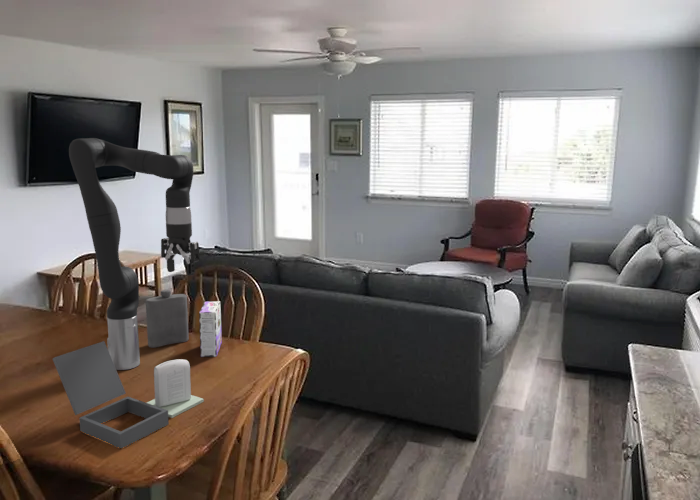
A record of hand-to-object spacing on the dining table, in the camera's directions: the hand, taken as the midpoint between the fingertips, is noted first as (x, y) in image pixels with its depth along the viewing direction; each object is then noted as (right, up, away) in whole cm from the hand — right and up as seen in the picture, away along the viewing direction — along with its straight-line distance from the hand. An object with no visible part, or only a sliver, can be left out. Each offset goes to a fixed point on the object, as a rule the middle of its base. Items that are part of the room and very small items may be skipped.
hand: (180, 273), depth 180 cm
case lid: (-18, -27, -23) cm, 39 cm away
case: (-7, -40, -27) cm, 48 cm away
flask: (-15, -28, +37) cm, 49 cm away
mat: (+2, -37, -13) cm, 39 cm away
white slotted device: (+2, -37, -13) cm, 39 cm away
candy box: (+2, -29, +30) cm, 42 cm away
